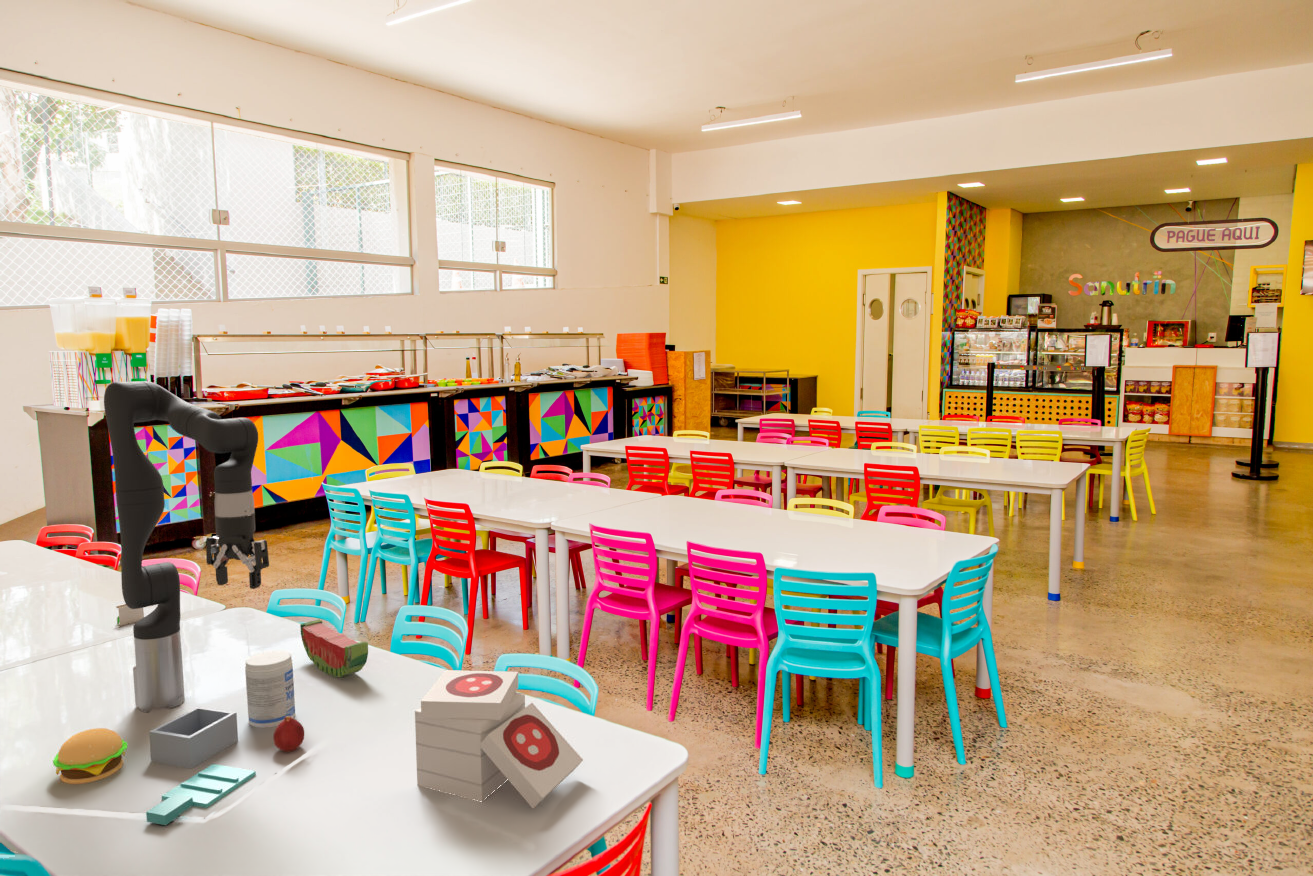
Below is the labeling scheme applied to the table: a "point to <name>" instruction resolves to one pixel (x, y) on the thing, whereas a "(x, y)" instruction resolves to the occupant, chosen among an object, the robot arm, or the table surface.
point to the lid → (198, 792)
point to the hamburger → (90, 756)
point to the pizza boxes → (487, 739)
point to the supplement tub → (269, 688)
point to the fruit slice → (333, 649)
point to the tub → (193, 737)
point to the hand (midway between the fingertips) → (238, 586)
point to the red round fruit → (289, 734)
